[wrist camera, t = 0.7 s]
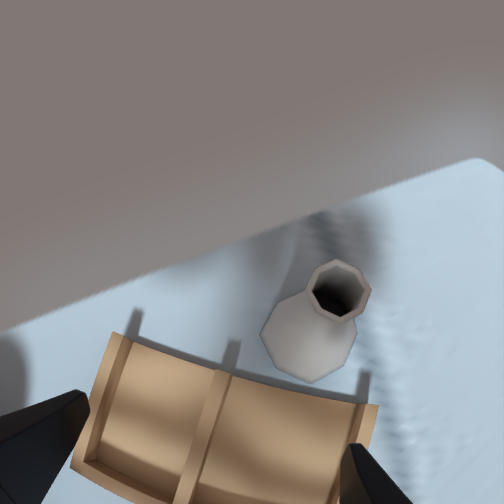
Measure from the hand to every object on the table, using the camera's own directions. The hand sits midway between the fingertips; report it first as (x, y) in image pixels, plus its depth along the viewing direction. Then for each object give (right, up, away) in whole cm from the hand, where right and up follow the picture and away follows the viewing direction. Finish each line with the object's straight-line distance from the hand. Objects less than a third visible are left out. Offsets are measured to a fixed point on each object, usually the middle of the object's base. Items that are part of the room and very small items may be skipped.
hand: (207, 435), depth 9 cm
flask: (+6, -1, +15) cm, 16 cm away
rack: (-1, -9, +11) cm, 14 cm away
